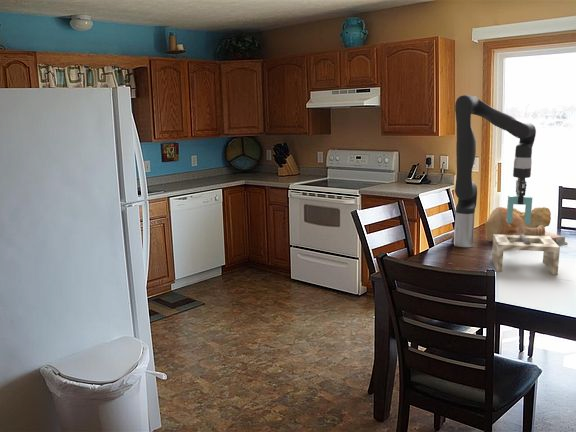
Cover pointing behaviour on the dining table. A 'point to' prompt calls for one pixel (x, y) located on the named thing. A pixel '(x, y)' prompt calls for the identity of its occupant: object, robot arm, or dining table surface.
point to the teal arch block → (514, 200)
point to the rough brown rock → (537, 217)
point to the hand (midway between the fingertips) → (519, 203)
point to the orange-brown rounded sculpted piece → (509, 225)
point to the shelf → (528, 244)
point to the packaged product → (556, 238)
